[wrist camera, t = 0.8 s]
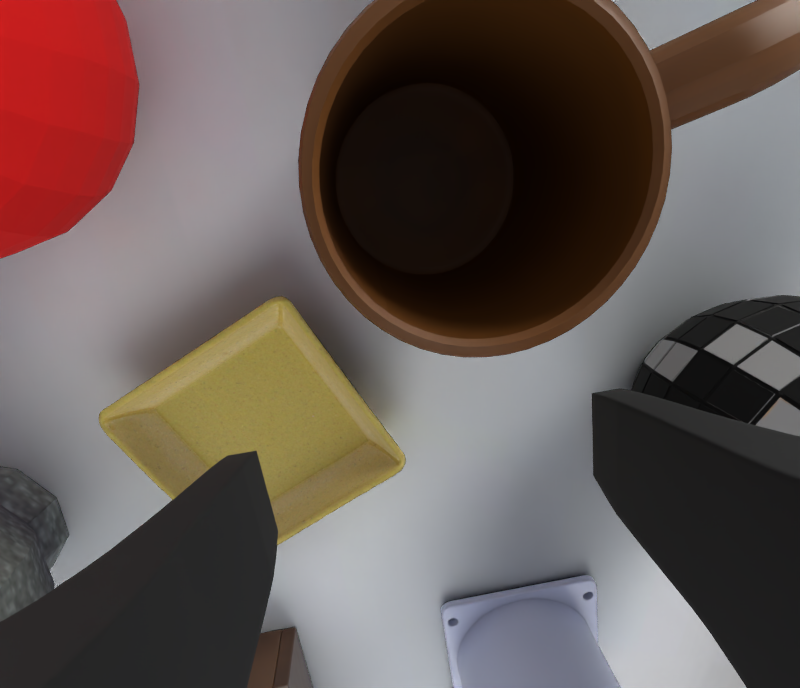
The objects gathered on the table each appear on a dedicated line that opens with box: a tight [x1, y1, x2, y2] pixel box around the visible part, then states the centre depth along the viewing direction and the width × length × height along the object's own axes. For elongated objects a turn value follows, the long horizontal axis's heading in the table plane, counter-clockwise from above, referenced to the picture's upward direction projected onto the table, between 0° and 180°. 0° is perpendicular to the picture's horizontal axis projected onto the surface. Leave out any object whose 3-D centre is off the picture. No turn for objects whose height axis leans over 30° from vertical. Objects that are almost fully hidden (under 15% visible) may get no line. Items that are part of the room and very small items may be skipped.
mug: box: [298, 0, 800, 357], centre depth 13 cm, size 12×8×9 cm, turn 114°
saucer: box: [99, 296, 406, 545], centre depth 19 cm, size 9×9×2 cm
